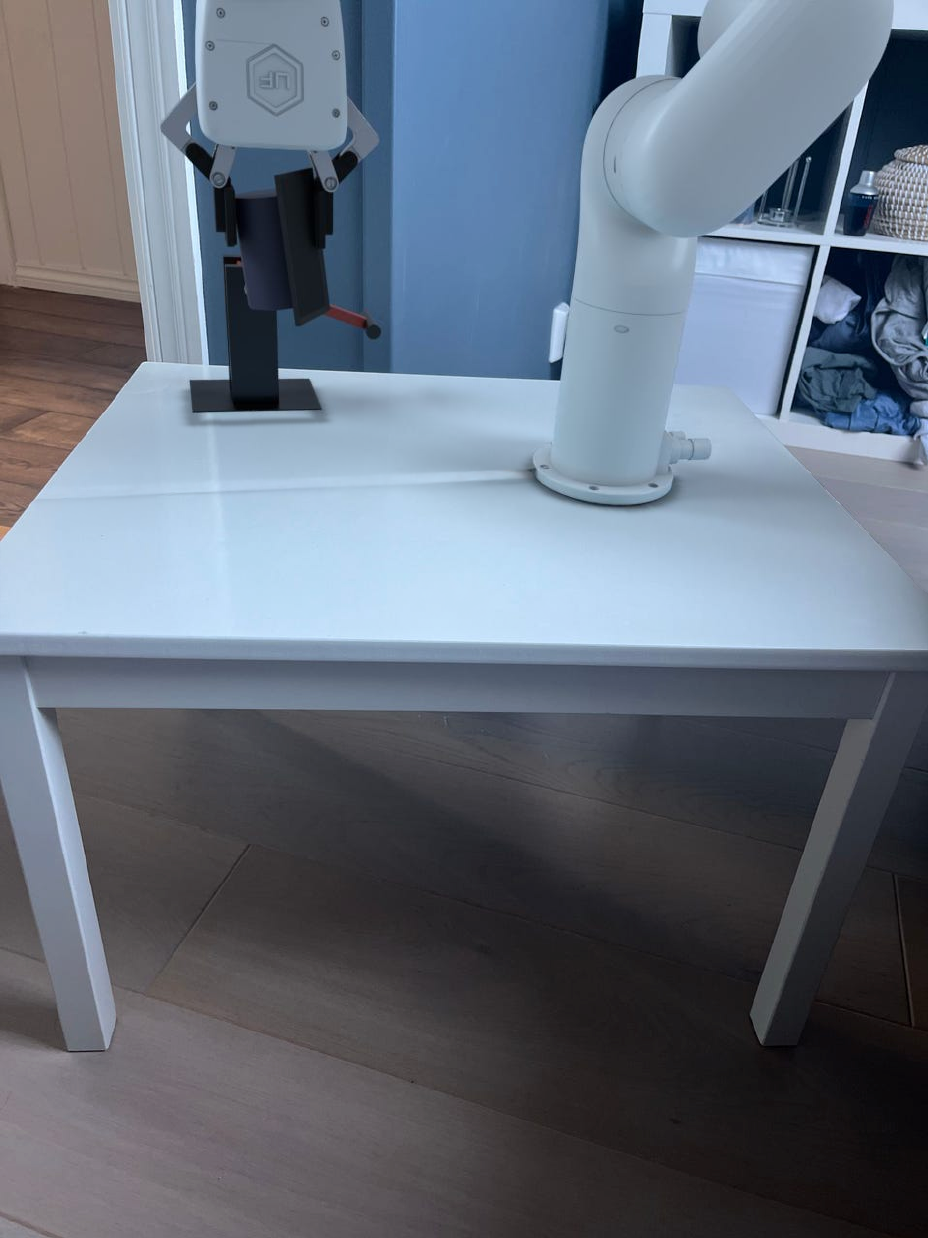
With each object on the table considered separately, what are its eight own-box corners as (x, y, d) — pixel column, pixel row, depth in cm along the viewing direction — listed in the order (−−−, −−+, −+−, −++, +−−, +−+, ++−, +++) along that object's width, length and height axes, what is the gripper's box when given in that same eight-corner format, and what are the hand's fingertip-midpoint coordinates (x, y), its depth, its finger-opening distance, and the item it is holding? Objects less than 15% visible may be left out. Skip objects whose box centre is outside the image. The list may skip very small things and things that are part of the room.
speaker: (353, 311, 76) (340, 166, 71) (298, 327, 72) (281, 175, 67) (287, 300, 80) (271, 161, 75) (232, 314, 77) (211, 170, 71)
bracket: (309, 389, 101) (308, 251, 94) (321, 420, 94) (320, 273, 87) (190, 391, 98) (179, 248, 91) (193, 423, 91) (181, 271, 84)
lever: (367, 331, 98) (375, 308, 97) (376, 346, 94) (385, 322, 93) (229, 281, 92) (236, 256, 91) (232, 294, 88) (240, 269, 87)
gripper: (128, -61, 58) (156, 252, 68) (408, -33, 63) (397, 257, 73) (130, -57, 65) (155, 230, 74) (385, -31, 69) (377, 236, 79)
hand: (274, 241), depth 73 cm, fingers closed on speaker, 5 cm apart
